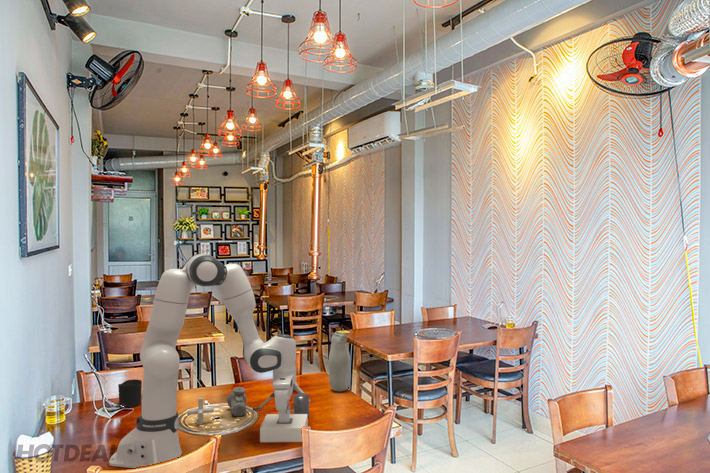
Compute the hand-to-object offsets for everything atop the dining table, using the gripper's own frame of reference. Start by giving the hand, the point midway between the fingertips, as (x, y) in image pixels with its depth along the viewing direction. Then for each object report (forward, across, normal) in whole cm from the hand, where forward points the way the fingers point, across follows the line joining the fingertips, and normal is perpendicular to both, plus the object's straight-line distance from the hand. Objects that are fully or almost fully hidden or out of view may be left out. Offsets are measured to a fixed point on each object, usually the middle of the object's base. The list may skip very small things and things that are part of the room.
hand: (284, 414), depth 182 cm
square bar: (+8, 0, 0) cm, 8 cm away
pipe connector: (+8, -11, -35) cm, 38 cm away
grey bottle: (+8, -52, +20) cm, 56 cm away
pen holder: (+8, -33, -73) cm, 81 cm away
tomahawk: (+8, -35, -12) cm, 38 cm away
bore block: (+8, 0, 0) cm, 8 cm away
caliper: (+8, -45, +1) cm, 46 cm away
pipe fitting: (+8, -23, -23) cm, 33 cm away
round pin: (+8, -17, +4) cm, 19 cm away
